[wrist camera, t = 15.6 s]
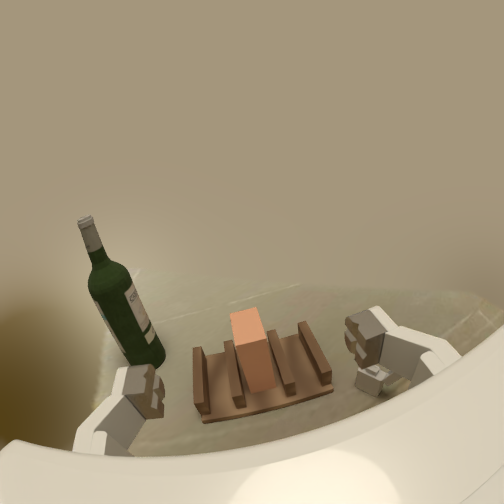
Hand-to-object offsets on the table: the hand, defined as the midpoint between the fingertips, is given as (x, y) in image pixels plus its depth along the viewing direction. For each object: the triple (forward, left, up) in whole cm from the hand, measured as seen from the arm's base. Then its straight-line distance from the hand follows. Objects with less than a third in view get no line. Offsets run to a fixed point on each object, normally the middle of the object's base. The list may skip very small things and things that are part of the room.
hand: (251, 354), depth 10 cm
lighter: (-16, -11, -28) cm, 34 cm away
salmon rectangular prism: (0, -21, -27) cm, 34 cm away
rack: (0, -21, -28) cm, 35 cm away
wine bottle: (+21, -31, -28) cm, 47 cm away
